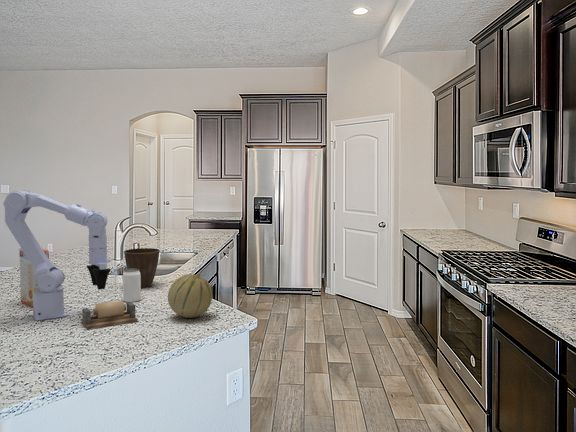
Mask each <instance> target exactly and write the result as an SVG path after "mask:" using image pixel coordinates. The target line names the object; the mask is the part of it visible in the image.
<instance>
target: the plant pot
mask: <svg viewBox="0 0 576 432" xmlns="http://www.w3.org/2000/svg"><path fill="white" fill-rule="evenodd" d="M123 254H124V258H125V259H124V260H125V264H126V269H139V272H140V275H141V289H147V287H148V288H151V287H152V285H153V282H154V279H155V276H156V273H157V268H158V263H159V258H160V249H158V248H153V247H150V248H149V247H146V248H145V247H144V248H140V247H139V248H131V249H130V248H129V249H126V250H124V251H123Z"/></svg>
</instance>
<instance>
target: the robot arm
mask: <svg viewBox="0 0 576 432" xmlns="http://www.w3.org/2000/svg"><path fill="white" fill-rule="evenodd" d="M2 203H3V207H4V222H5V225H6V227H8V230H9V231H10V233H11V234H12V236H13V238H14V239H15V241H16V242H17V243H18V244H19V247H20V248H22V250H23V251H24V253H25V254H26V256H27V258H28V259H29V261H30V262H31V264H32V265H33V267H34V271H35V276H36V278H37V284H38V287H39V288H40V291H38V292H34V293H33V307H32V316H33V317H34V319H35V321H41V320H47V319H48V320H50V319H55V318H56V319H57V318H64V317H67V316H68V315H67V313H66V311H65V302H64V299H65V297H64V295H65V294H64V287H63V285H62V284H63V283H64V282H65V280H66V279H65V277H66V276H65V273H64V272H63V270H61V269H59V268H58V267H57V266H56V265H55V263H54V262H53V261H51V260H50V258H49V259H48V257H47V256H46V254H45V253H44V251H43V249H44V248H42V247H41V245H40V243H39V241H38V240H37V238H36V237H35V236H34V234H33V232H32V230H31V228H30V227H29V226H28V224H27V222H26V221H25V220H26V217H27V215H28V213H29V211H31V209H32V208H35V207H37V208H38V207H41V208H44V209H47V210H50V211H53V212H57V213H58V214H62V215H64V217H65V219H66V220H67V221H69V222H73V223H75V224H77V225H81V226H84V227H87V228H88V264H89V265H86V268H87V270H88V272H89V275H90V280H91V283H92V286H97V290H99V291H100V290H105V289H106V285H107V280H108V277H109V274H110V273H111V268H107V264H108V263H111V261H112V260H111V259H108V248H107V247H108V245H107V244H108V242H107V239H108V238H107V224H108V218H107V216H106V215H105V214H104V213H102V212H96V210H95V209H92V210H91V209H87V208H85V207H83V206H82V204H81V203H77V204H74V203H73V204H70V205H67V204H65V203H62V202H60V201H57V200H55V199H53V198H50V197H48V196H46V195H43V194H40V193H38V192H37V193H36V192H31V191H30V190H14V191H13V190H12V191H10V192H9V193H8V194H6V196H5V198H4V201H3V202H2Z"/></svg>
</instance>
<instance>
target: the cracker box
mask: <svg viewBox="0 0 576 432" xmlns="http://www.w3.org/2000/svg"><path fill="white" fill-rule="evenodd" d="M42 249H43V251H44V253H45V254H46V256H47V257H48V259H49V260H50V254H49V253H50V250H48V249H44V248H42ZM18 251H19V253H18V254H19V280H20V281H19V282H20V283H19V284H20V286H19V287H20V302H21V303H23V304H24V305H25V304H26V305H28V306H30V307H31V308H33V293H34V292H38V291H40V288H39V287H38V284H37V278H36V276H35V271H34V267H33V265H32V264H31V262H30V261H29V259H28V258H27V256H26V254H25V253H24V251H23V250H22V248H21V247H20V248H19V250H18Z"/></svg>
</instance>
